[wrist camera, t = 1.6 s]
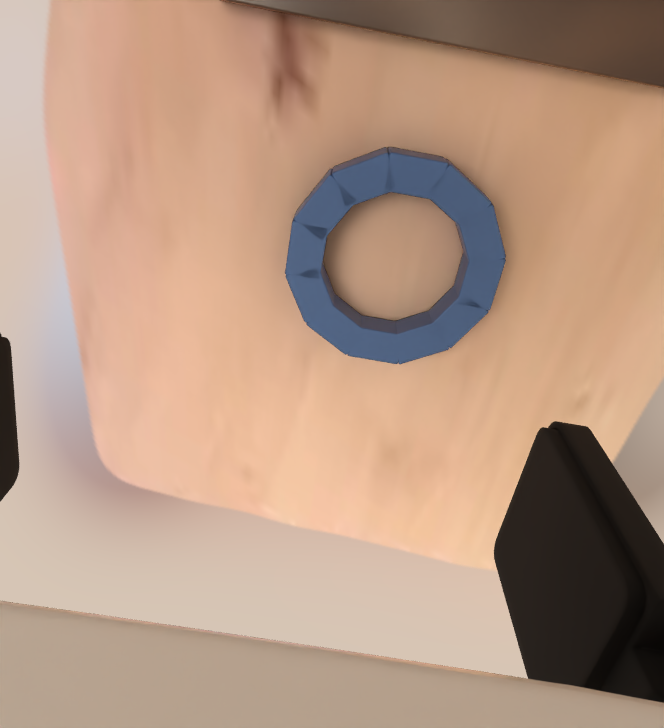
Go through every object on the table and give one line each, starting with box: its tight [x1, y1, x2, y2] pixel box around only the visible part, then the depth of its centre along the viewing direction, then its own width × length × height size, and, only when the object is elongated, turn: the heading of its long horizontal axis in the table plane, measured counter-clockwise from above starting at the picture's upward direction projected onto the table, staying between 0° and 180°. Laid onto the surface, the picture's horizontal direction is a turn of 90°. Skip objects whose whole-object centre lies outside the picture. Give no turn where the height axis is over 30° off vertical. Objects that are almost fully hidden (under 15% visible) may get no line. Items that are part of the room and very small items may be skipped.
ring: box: [285, 147, 506, 364], centre depth 28 cm, size 10×10×2 cm
